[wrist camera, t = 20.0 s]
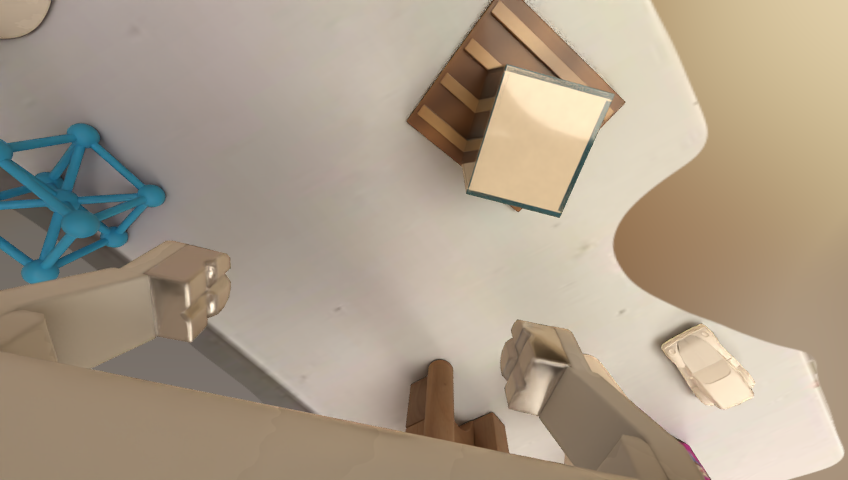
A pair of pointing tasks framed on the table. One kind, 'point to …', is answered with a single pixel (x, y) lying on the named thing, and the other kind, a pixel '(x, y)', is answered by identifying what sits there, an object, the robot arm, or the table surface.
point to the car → (709, 368)
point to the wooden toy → (449, 413)
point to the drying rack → (489, 47)
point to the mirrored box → (531, 138)
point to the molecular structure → (69, 202)
